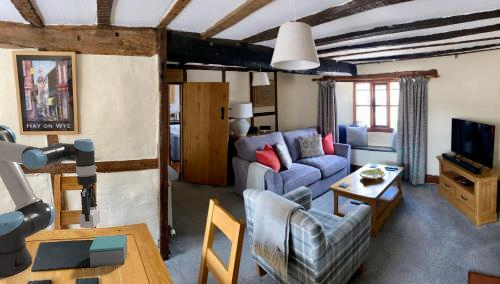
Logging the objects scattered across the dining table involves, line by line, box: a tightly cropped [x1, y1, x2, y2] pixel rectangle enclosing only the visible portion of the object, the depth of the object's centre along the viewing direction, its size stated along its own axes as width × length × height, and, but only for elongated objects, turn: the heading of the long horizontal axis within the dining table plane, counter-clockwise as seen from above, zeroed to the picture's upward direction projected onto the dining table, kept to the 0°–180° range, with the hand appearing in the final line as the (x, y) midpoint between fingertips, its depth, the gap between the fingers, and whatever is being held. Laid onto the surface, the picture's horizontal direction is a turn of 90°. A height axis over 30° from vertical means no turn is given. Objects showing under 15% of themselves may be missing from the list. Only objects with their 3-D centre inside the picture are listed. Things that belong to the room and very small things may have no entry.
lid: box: [89, 234, 128, 253], centre depth 146 cm, size 14×12×1 cm
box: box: [89, 238, 128, 268], centre depth 147 cm, size 14×12×7 cm
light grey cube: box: [79, 209, 101, 229], centre depth 142 cm, size 6×6×6 cm
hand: (90, 224), depth 142 cm, fingers closed on light grey cube, 7 cm apart
